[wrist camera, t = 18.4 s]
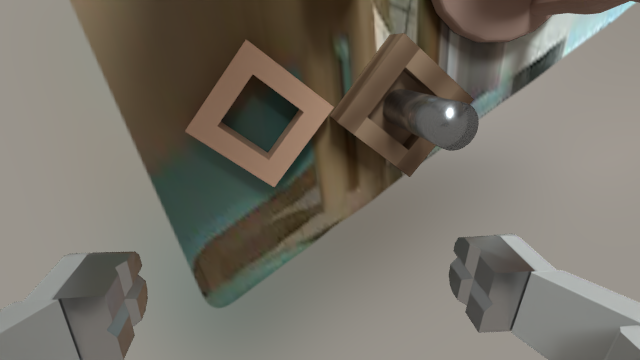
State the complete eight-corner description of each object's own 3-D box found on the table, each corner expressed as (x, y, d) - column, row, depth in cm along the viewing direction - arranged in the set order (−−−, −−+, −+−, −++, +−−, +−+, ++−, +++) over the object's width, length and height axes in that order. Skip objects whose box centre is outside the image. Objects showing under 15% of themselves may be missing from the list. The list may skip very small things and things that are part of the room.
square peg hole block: (329, 115, 41) (337, 122, 38) (389, 34, 39) (404, 33, 36) (396, 166, 45) (409, 177, 41) (454, 95, 43) (473, 99, 39)
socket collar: (189, 125, 39) (184, 131, 36) (246, 40, 37) (246, 39, 34) (272, 178, 43) (274, 187, 40) (328, 103, 41) (333, 107, 38)
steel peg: (375, 111, 40) (423, 133, 29) (397, 81, 39) (455, 91, 28) (401, 131, 41) (456, 159, 30) (423, 102, 41) (487, 120, 29)
